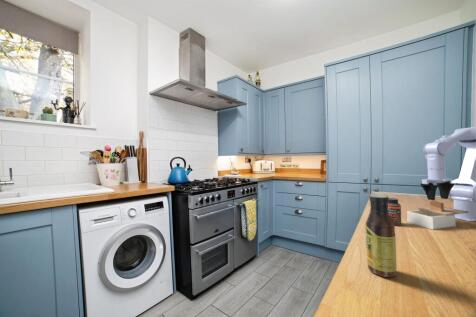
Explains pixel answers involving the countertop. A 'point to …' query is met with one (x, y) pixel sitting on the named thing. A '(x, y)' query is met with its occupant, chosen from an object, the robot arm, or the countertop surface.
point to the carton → (430, 219)
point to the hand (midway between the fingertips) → (437, 199)
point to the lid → (441, 209)
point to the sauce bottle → (380, 238)
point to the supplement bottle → (394, 211)
